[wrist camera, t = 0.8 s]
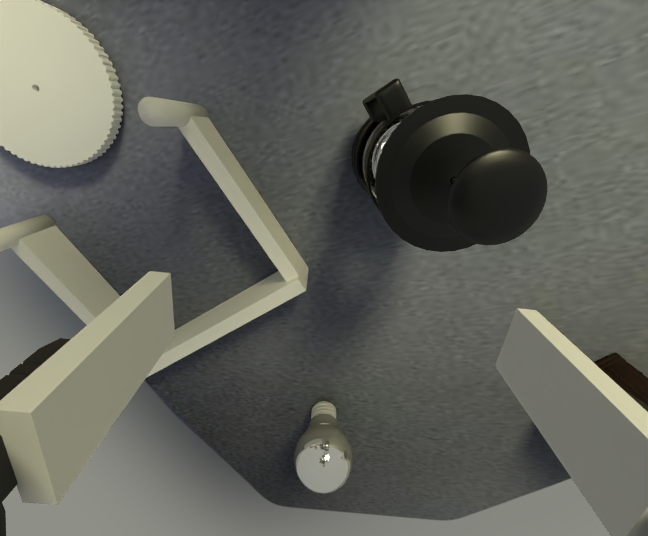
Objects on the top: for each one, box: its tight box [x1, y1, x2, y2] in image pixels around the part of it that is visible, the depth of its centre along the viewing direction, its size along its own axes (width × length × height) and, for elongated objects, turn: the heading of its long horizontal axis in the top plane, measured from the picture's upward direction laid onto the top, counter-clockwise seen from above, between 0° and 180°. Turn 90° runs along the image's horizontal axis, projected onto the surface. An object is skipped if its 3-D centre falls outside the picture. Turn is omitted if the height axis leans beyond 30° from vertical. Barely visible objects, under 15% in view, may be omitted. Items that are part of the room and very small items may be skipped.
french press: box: [352, 78, 547, 252], centre depth 25 cm, size 12×9×23 cm
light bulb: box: [294, 401, 353, 493], centre depth 43 cm, size 7×7×12 cm
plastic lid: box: [0, 0, 123, 168], centre depth 33 cm, size 14×14×2 cm
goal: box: [0, 97, 309, 378], centre depth 35 cm, size 20×24×10 cm
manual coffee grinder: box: [594, 353, 648, 406], centre depth 39 cm, size 16×11×18 cm
